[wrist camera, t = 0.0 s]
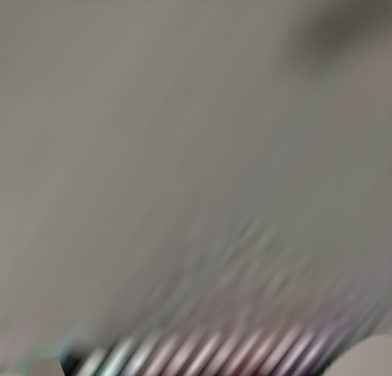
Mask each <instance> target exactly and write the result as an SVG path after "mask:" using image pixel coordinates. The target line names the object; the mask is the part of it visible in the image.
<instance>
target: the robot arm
mask: <svg viewBox="0 0 392 376" xmlns="http://www.w3.org/2000/svg"><path fill="white" fill-rule="evenodd" d="M26 376H64V373H63V370H62V368H61V365H60V362H59V360H58V357H52V358H47V359H42V360H37V361H32V363H31V365H30V367H29V369H28V371H27V374H26Z"/></svg>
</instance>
